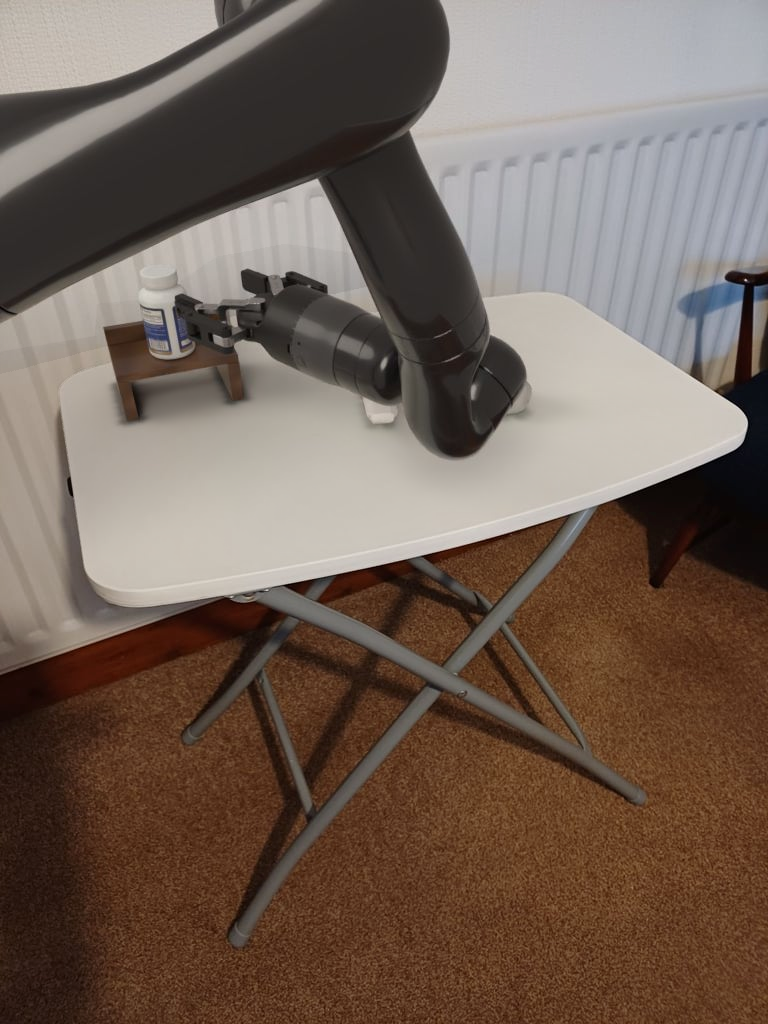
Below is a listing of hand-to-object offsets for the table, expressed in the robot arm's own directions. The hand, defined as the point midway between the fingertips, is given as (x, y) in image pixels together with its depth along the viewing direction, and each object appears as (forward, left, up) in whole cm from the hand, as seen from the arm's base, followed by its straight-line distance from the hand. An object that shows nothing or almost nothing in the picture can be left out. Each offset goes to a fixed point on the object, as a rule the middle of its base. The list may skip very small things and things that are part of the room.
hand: (212, 290), depth 81 cm
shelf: (+4, +10, -16) cm, 19 cm away
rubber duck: (+15, -29, -17) cm, 37 cm away
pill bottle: (+4, +9, -11) cm, 15 cm away
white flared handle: (+11, -14, -17) cm, 24 cm away
